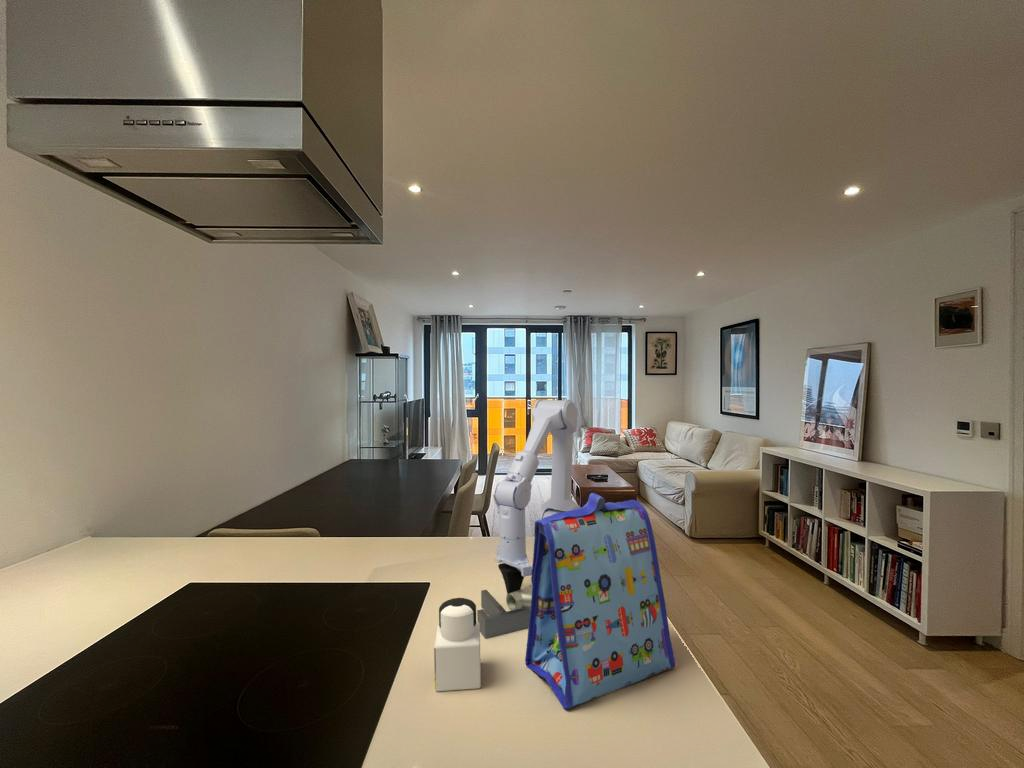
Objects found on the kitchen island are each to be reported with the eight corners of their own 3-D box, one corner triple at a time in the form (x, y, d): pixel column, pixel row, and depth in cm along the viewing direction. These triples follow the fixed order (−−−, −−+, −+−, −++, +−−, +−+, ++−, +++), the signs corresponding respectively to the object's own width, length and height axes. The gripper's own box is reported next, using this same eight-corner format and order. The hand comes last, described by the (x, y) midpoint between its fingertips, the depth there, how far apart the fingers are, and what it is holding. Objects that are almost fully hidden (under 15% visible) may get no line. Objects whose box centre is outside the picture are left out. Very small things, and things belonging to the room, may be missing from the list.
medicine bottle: (438, 665, 78) (437, 594, 79) (480, 662, 79) (479, 592, 79) (434, 692, 71) (433, 614, 71) (480, 689, 72) (479, 612, 72)
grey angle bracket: (555, 590, 107) (554, 575, 107) (584, 613, 95) (583, 596, 96) (464, 610, 98) (464, 594, 98) (485, 638, 86) (484, 620, 86)
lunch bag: (622, 633, 88) (620, 481, 88) (678, 671, 76) (674, 495, 76) (522, 665, 78) (520, 495, 78) (568, 715, 66) (564, 513, 66)
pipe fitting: (554, 609, 98) (533, 596, 103) (555, 591, 98) (534, 579, 103) (526, 622, 93) (505, 607, 98) (527, 603, 93) (506, 589, 98)
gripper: (483, 529, 106) (484, 588, 106) (509, 548, 93) (510, 615, 93) (511, 524, 109) (512, 582, 109) (540, 543, 96) (541, 608, 96)
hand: (513, 597), depth 101 cm, fingers closed
